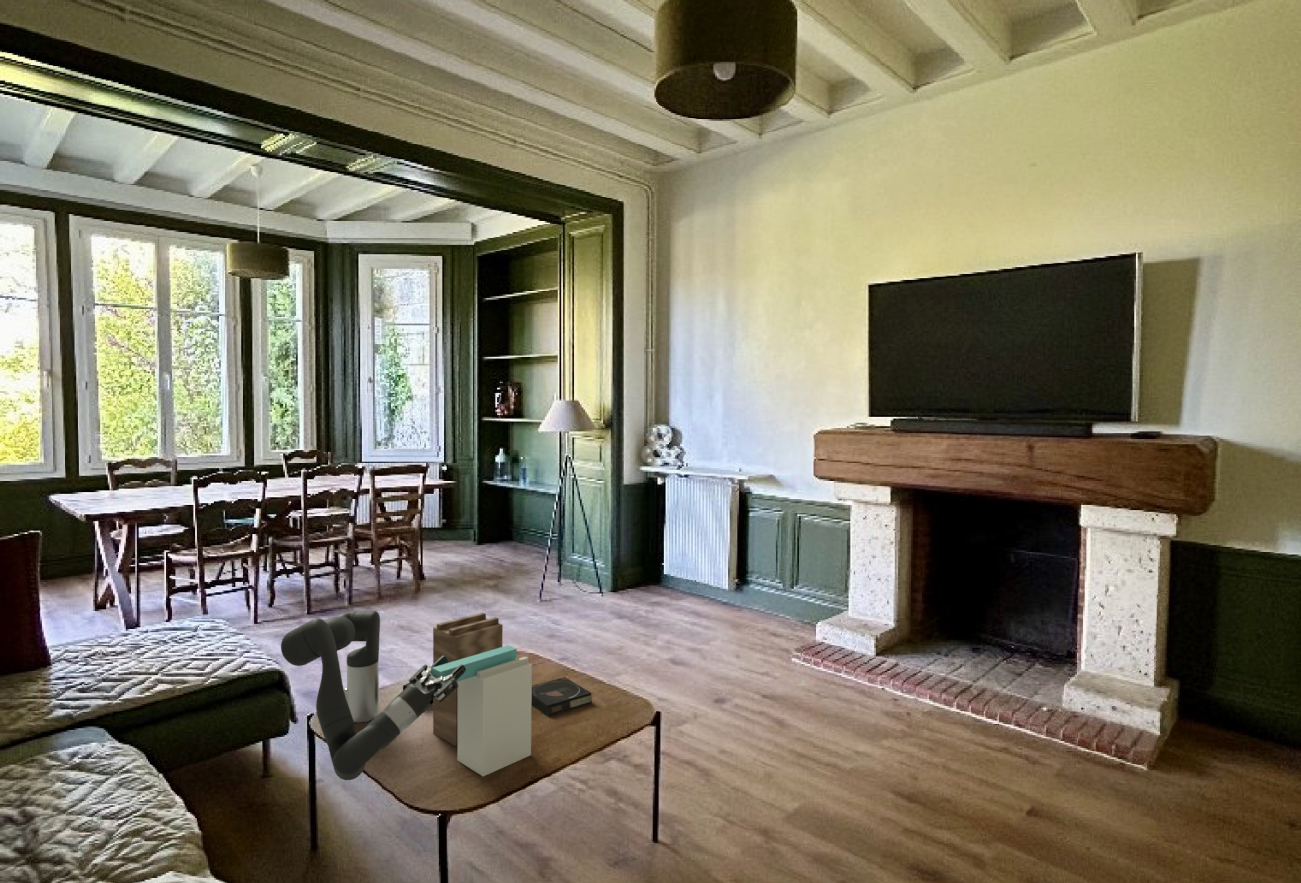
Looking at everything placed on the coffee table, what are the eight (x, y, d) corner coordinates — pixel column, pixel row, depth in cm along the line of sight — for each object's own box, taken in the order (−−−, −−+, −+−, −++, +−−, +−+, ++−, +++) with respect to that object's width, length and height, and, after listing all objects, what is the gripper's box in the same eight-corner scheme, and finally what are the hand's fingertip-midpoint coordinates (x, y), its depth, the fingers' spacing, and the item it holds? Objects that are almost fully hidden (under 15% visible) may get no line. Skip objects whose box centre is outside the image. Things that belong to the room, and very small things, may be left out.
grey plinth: (482, 776, 191) (483, 674, 190) (457, 760, 199) (457, 662, 198) (530, 755, 203) (531, 659, 201) (505, 740, 211) (505, 648, 209)
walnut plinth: (455, 746, 207) (456, 632, 205) (433, 733, 215) (433, 622, 213) (501, 728, 219) (502, 619, 217) (478, 716, 227) (479, 611, 225)
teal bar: (440, 687, 185) (440, 671, 185) (432, 682, 188) (432, 667, 187) (516, 662, 203) (516, 648, 202) (507, 659, 205) (507, 645, 205)
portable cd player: (548, 718, 227) (548, 706, 227) (522, 700, 241) (522, 688, 240) (592, 705, 238) (592, 693, 237) (564, 688, 251) (564, 677, 251)
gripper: (413, 707, 174) (464, 659, 184) (384, 690, 183) (433, 645, 193) (427, 728, 177) (476, 679, 187) (398, 710, 186) (446, 665, 196)
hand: (454, 662), depth 190 cm, fingers open, 8 cm apart
